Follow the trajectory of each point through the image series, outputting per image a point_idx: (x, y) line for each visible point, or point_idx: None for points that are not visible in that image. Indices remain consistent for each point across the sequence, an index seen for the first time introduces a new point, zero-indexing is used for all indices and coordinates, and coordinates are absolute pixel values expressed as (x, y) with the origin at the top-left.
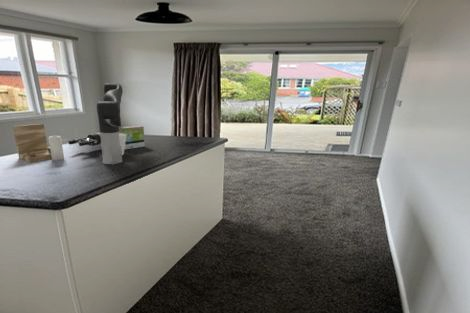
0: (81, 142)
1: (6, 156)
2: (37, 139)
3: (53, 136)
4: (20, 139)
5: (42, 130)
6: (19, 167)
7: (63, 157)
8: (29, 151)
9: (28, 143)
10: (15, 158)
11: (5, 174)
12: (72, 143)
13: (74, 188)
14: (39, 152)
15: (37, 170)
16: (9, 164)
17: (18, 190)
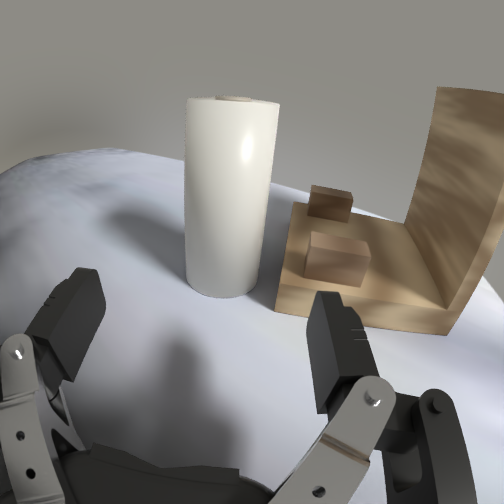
0: (67, 283)
1: None
2: (460, 199)
3: (234, 96)
4: (430, 158)
5: (501, 149)
6: None
7: (188, 272)
8: (341, 192)
9: (434, 196)
10: None
11: None
12: (312, 360)
13: (19, 172)
14: (388, 256)
15: (164, 189)
16: None
17: (107, 153)
